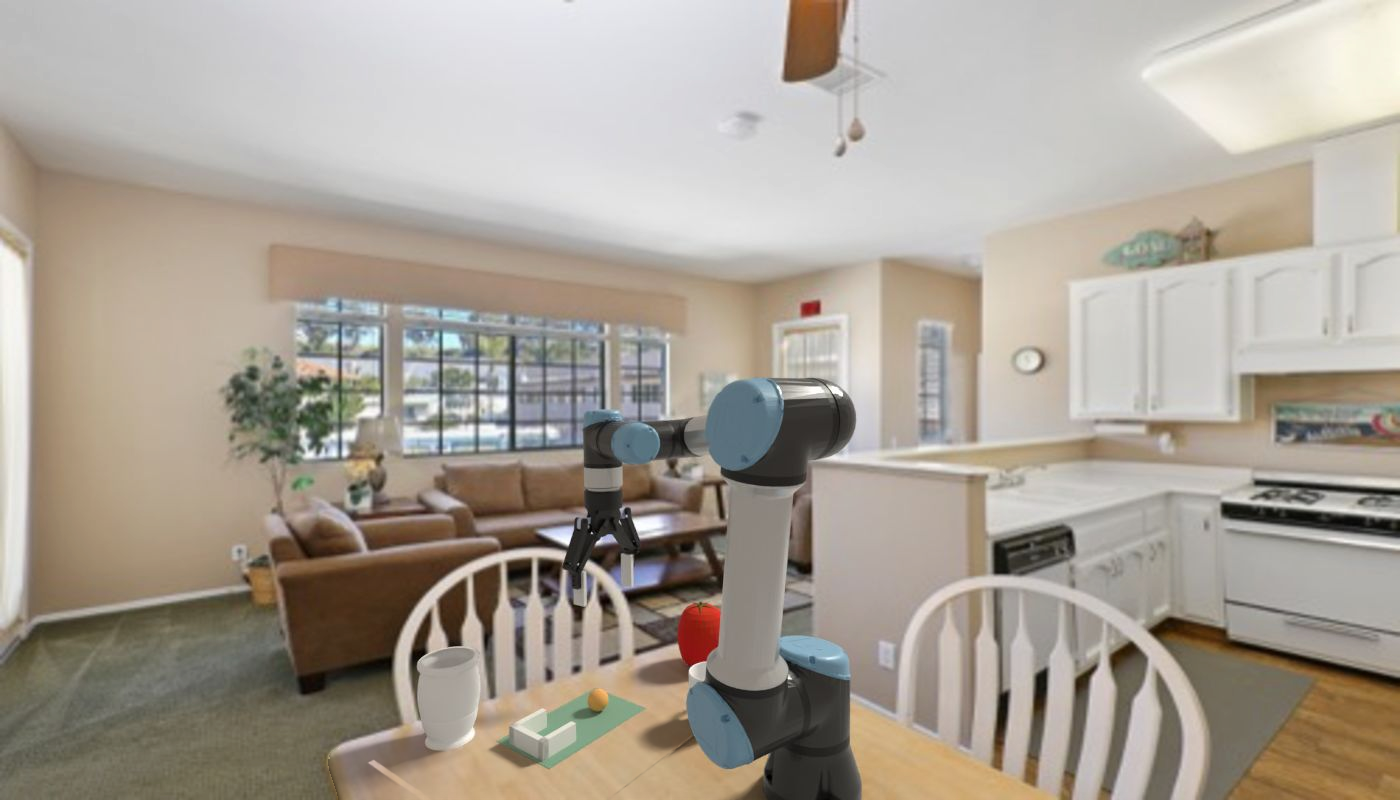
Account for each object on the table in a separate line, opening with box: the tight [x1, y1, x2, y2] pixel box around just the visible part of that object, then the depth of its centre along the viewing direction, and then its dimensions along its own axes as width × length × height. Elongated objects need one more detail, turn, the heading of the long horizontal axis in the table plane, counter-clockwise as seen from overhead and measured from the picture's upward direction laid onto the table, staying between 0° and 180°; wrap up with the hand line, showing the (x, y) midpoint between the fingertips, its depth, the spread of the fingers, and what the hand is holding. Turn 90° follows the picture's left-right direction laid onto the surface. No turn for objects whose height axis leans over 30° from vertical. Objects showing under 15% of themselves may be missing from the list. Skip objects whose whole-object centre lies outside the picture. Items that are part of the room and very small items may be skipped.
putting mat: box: [496, 687, 647, 770], centre depth 119 cm, size 14×24×1 cm, turn 144°
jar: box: [416, 645, 481, 752], centre depth 115 cm, size 11×10×15 cm
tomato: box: [676, 601, 721, 668], centre depth 145 cm, size 13×11×14 cm
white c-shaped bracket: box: [508, 707, 576, 761], centre depth 113 cm, size 9×7×3 cm
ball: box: [588, 688, 608, 712], centre depth 124 cm, size 4×4×4 cm
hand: (604, 594), depth 127 cm, fingers open, 13 cm apart
